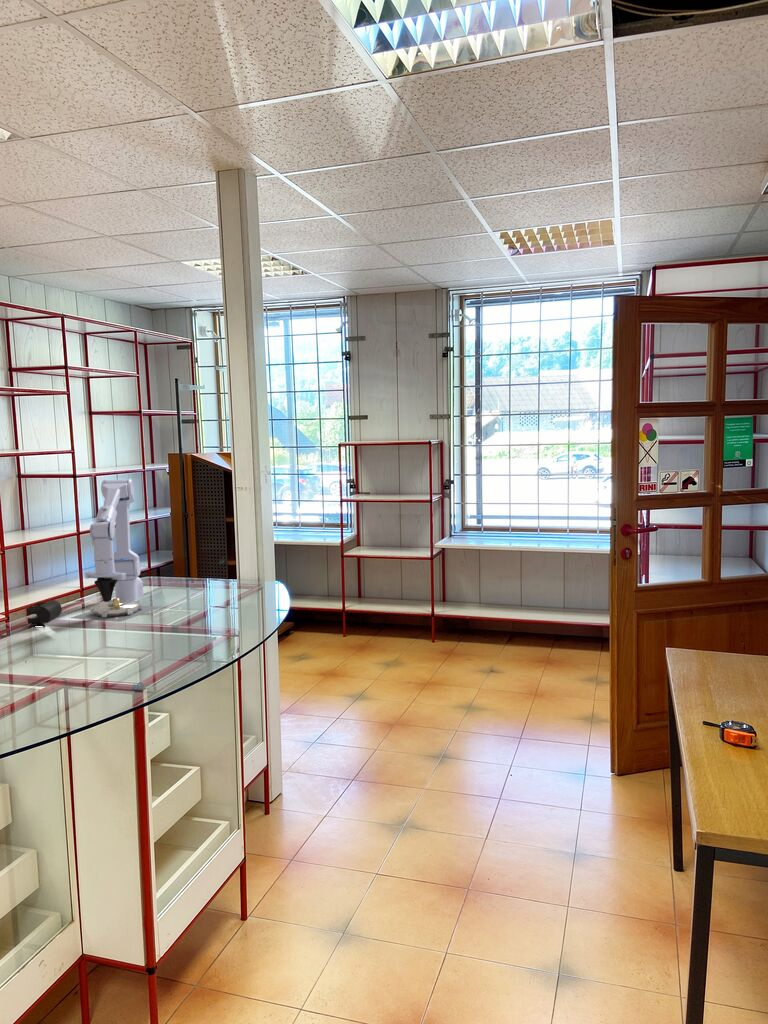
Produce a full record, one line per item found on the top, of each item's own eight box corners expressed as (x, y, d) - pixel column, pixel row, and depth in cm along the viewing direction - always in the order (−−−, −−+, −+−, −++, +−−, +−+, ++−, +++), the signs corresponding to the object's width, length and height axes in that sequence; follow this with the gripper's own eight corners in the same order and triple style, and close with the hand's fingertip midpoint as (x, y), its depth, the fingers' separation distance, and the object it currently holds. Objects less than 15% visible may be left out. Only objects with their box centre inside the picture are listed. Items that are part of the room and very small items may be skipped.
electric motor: (51, 627, 226) (49, 606, 225) (27, 628, 225) (25, 607, 224) (62, 619, 236) (61, 599, 235) (40, 620, 235) (38, 600, 234)
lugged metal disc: (90, 609, 240) (89, 594, 240) (140, 604, 246) (139, 589, 245) (90, 619, 227) (89, 602, 226) (143, 613, 233) (142, 597, 232)
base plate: (113, 608, 249) (113, 603, 249) (161, 611, 243) (161, 606, 242) (70, 622, 231) (69, 617, 231) (121, 626, 224) (120, 621, 224)
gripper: (77, 560, 229) (80, 602, 230) (114, 562, 224) (117, 605, 225) (93, 556, 236) (96, 597, 237) (129, 558, 231) (132, 600, 232)
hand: (107, 601), depth 232 cm, fingers closed
